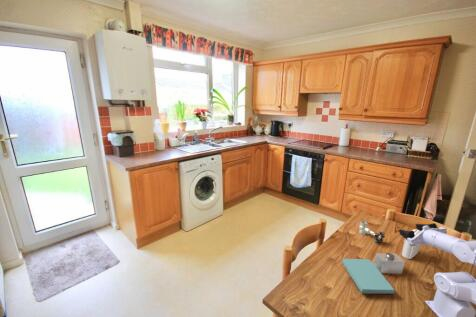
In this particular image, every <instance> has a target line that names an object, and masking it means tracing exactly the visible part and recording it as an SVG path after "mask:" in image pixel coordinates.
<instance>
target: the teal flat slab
mask: <svg viewBox="0 0 476 317" xmlns="http://www.w3.org/2000/svg"><path fill="white" fill-rule="evenodd" d="M341 263H342V264H343V266H344V268H345V269H346V270H347V272H348V274H349V276H350V277H351V278H352V280H353V281H354V283H355V285H356V286H357V288H358V290H359V291H360V293H361V294H363V295H365V294H369V295H371V294H372V295H389V294H395V289H394V287H393V286H392V285H391V283H389V281H388V280H387V279H386V277H385V276H384V275H383V273H380V271H379V270H378V269H377V268H376V266H375V265H374V262H372V261H371V259H367V258H342V260H341Z"/></svg>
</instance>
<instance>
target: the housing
mask: <svg viewBox="0 0 476 317" xmlns="http://www.w3.org/2000/svg"><path fill="white" fill-rule="evenodd" d="M405 262H406V261H405V260H404V259H403V258H402V257H401V256H399V255H398V253H390V252H387V253H384V252H381V253H379V252H377V253H376V252H375V256H374V261H373V264H374V265H375V266H376V268H377V269H378V270H379V271H380V273H381V274H399V275H401V274H403V271H404V268H405Z"/></svg>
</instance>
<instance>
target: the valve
mask: <svg viewBox="0 0 476 317" xmlns="http://www.w3.org/2000/svg"><path fill="white" fill-rule="evenodd" d="M368 224H369V223H368V222H367V221H366V220H365V221H364V220H361V221H360V222H359V225H358V232H357V233H358V234H360V235H363V236H365V235H366V234H367V235H369V234H370V235H371V236H374V243H376V244H381V242H383V241H384V238H386V237H385V232H383V231H379V232H378V233H376V232H374V231H373V230H372V228H369V227H368Z"/></svg>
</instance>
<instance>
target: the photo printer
mask: <svg viewBox="0 0 476 317" xmlns="http://www.w3.org/2000/svg"><path fill="white" fill-rule="evenodd" d="M412 230H413V231H414V234H415V236H416V235H417V234H418V233H419V232H421V231H419V230H418V229H417V228H416V229H412ZM402 246H403V247H402V251H401V256H402V257H403V258H405V259H407V260H411V259H413V257H415V256H416V255H417V254H418V252H419V250H420V245H418V244H416V245H414V246H411V245H410V244H409V243H408V241H407V240H406V239H405V238H404V242H403V245H402Z"/></svg>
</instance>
